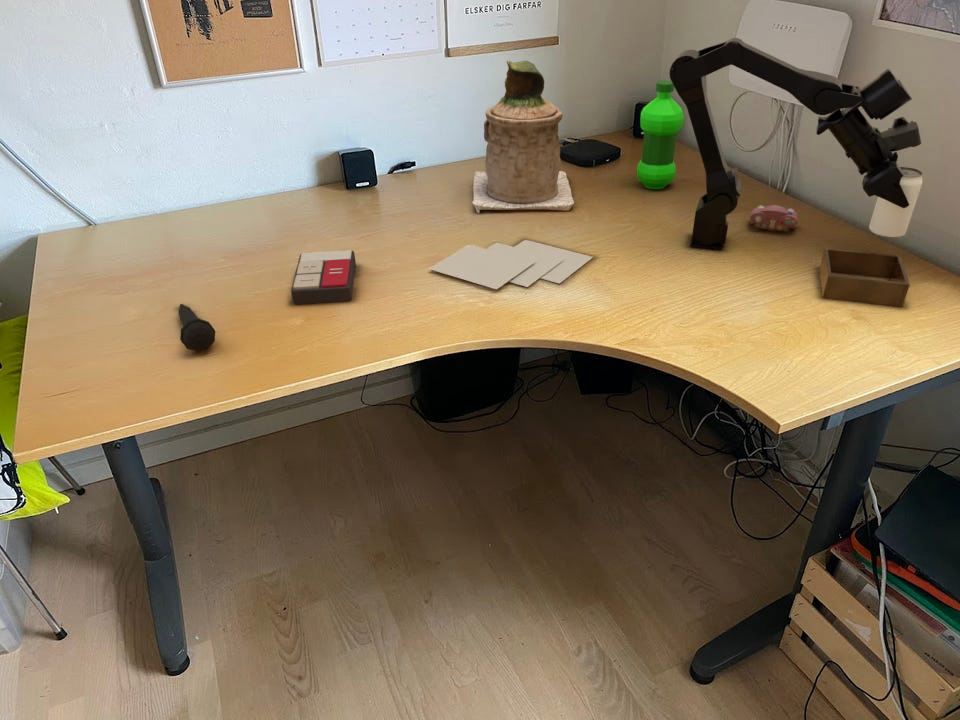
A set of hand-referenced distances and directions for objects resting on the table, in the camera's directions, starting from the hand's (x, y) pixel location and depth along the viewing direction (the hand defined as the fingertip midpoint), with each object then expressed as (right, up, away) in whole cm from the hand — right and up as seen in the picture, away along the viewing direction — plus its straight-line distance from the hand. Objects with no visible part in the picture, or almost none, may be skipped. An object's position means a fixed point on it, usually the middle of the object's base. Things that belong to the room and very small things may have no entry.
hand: (904, 200), depth 135 cm
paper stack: (-73, -11, +12) cm, 75 cm away
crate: (-9, -16, 0) cm, 18 cm away
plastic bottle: (-36, +14, +48) cm, 61 cm away
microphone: (-131, -25, -6) cm, 133 cm away
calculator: (-110, -15, +8) cm, 112 cm away
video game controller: (-16, -1, +23) cm, 28 cm away
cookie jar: (-69, +11, +45) cm, 84 cm away
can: (-1, -5, +4) cm, 7 cm away
